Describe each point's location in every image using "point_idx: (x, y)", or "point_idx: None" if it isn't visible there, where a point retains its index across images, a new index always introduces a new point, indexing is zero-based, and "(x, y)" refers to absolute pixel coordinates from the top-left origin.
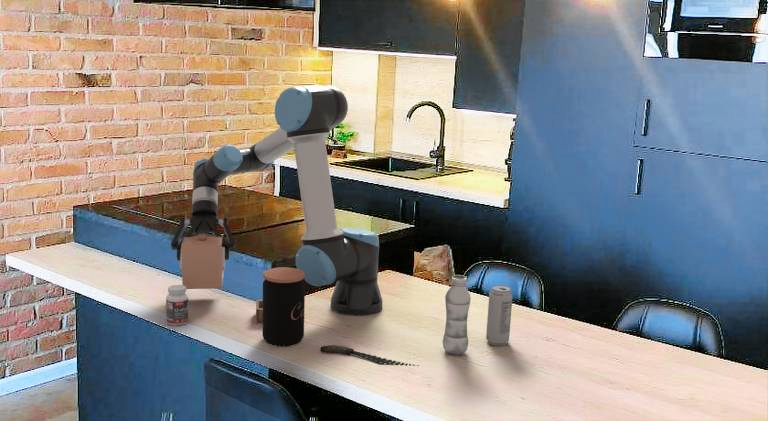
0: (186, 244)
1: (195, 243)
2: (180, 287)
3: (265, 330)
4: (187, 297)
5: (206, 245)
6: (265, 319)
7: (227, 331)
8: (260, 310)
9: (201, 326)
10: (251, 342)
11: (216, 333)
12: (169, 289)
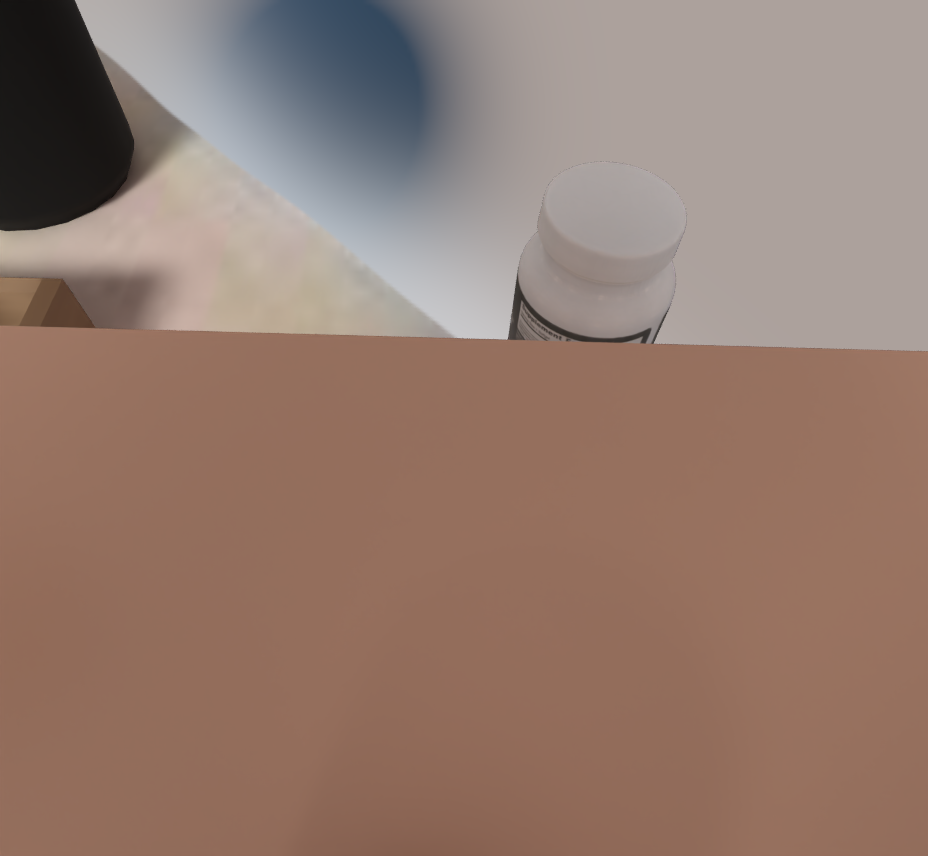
0: (854, 384)
1: (627, 478)
2: (586, 199)
3: (111, 86)
4: (521, 261)
5: (291, 352)
6: (86, 27)
7: (286, 264)
8: (36, 283)
9: (421, 327)
10: (195, 164)
11: (343, 248)
12: (662, 180)
